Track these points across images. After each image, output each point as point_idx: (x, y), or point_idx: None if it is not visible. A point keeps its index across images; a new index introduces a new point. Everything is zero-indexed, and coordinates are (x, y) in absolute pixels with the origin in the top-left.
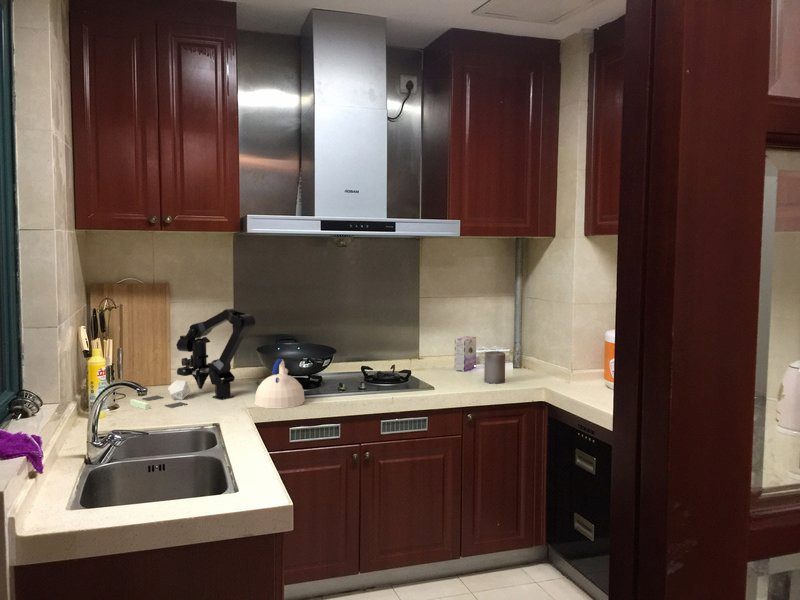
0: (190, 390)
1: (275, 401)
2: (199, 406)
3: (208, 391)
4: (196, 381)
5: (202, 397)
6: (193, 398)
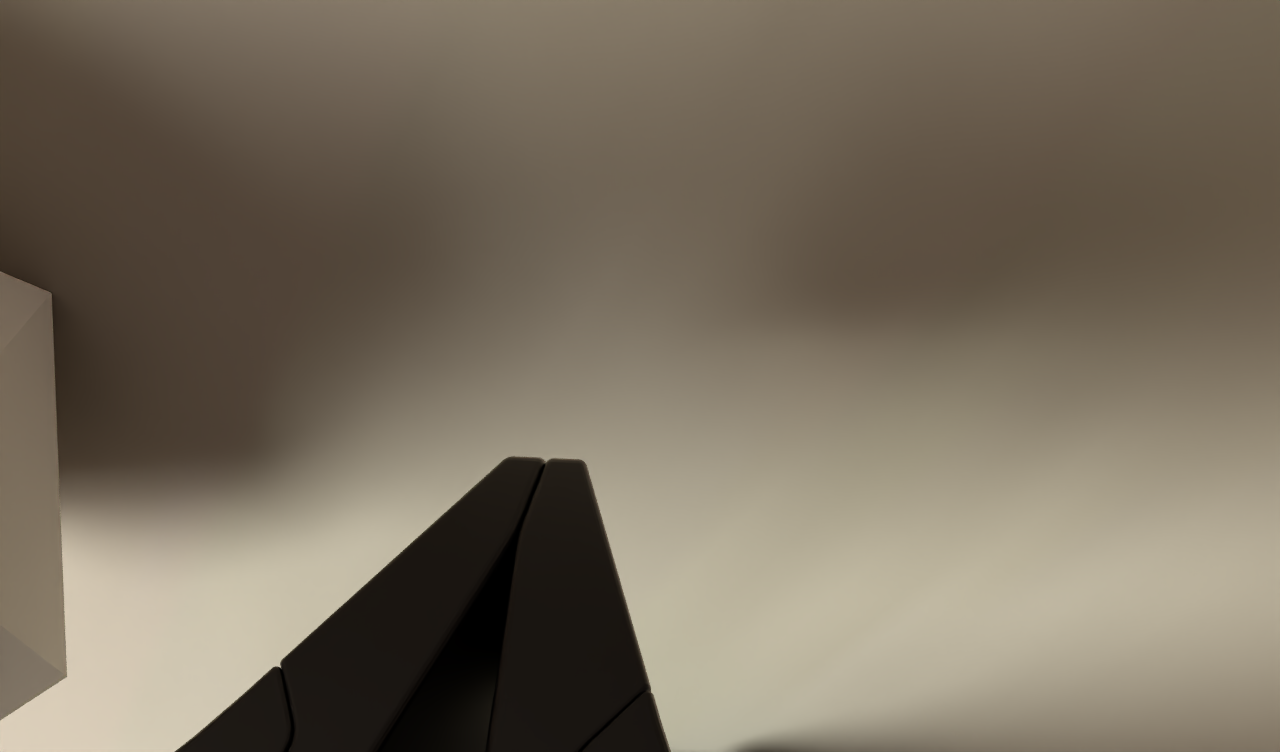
0: (24, 702)
1: None
2: None
3: (1077, 176)
4: (286, 692)
5: None
6: (235, 547)
